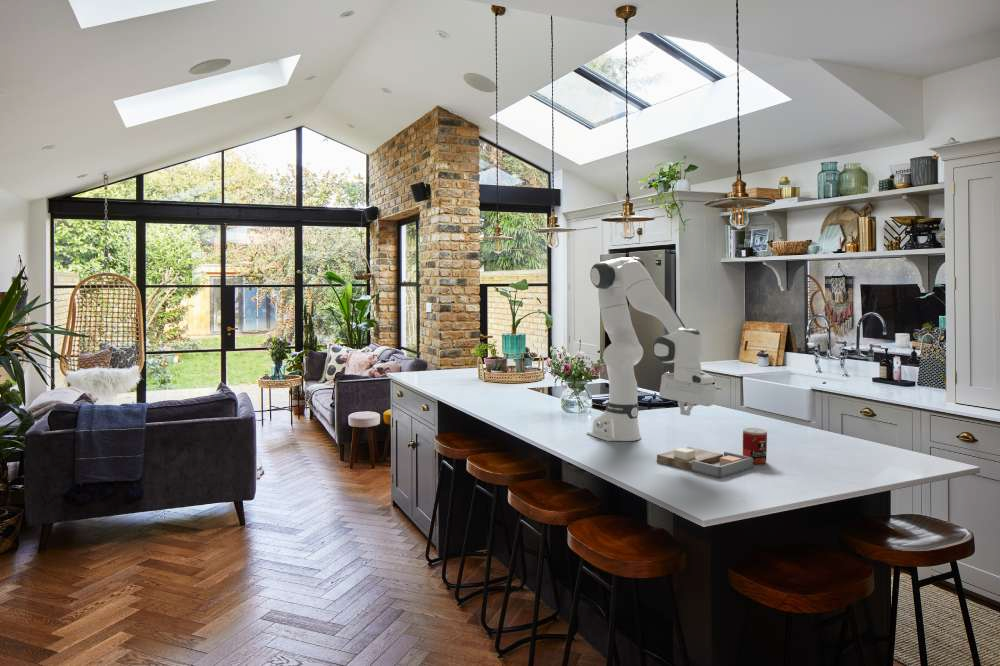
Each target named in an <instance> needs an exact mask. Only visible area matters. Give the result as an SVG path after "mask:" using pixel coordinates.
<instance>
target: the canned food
mask: <svg viewBox="0 0 1000 666" xmlns="http://www.w3.org/2000/svg"><path fill="white" fill-rule="evenodd" d="M767 443H768V431H767V430H765V429H762V428H757V427H756V428H755V427H747V428H743V430H742V455H743V456H748V457H753V466H754V465H755V466H760V465H765V464H766V463H767V449H768V447H767V446H768V445H767Z"/></svg>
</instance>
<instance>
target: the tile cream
mask: <svg viewBox="0 0 1000 666" xmlns="http://www.w3.org/2000/svg"><path fill="white" fill-rule="evenodd" d="M673 451H674V457H676V458H680V459H685V460H688V459H692V458H695V450H692V449H688V448H686V447H679V448H676V449H673Z"/></svg>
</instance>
